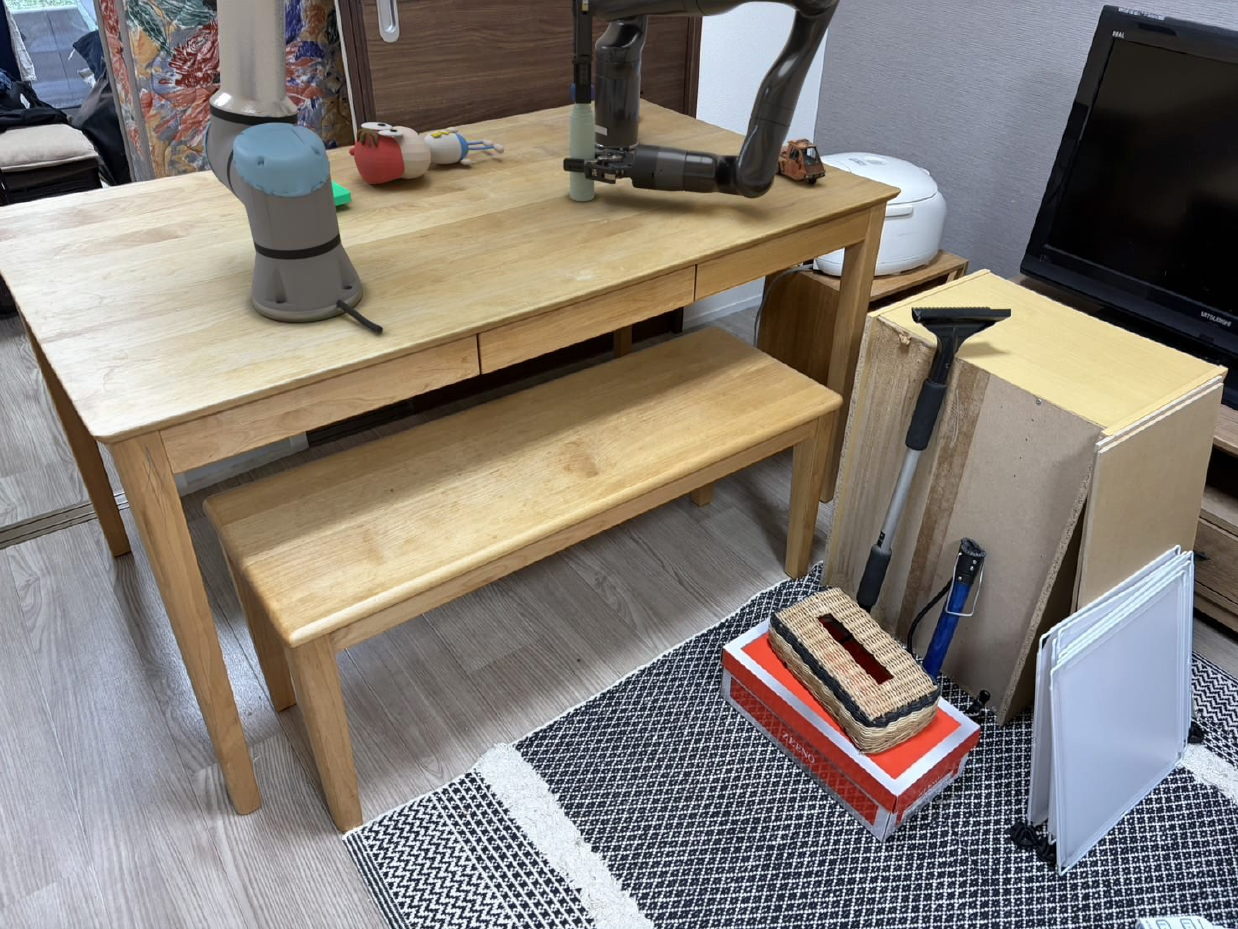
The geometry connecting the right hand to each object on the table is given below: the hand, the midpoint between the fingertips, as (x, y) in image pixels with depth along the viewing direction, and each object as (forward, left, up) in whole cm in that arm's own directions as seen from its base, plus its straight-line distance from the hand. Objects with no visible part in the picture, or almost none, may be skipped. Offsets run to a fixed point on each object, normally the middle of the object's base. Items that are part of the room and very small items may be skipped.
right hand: (567, 159), depth 166 cm
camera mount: (+15, -42, -7) cm, 45 cm away
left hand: (0, +3, +11) cm, 11 cm away
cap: (0, +3, +13) cm, 13 cm away
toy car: (-21, +40, -7) cm, 46 cm away
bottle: (0, +3, -7) cm, 7 cm away
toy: (-6, -29, -7) cm, 30 cm away
